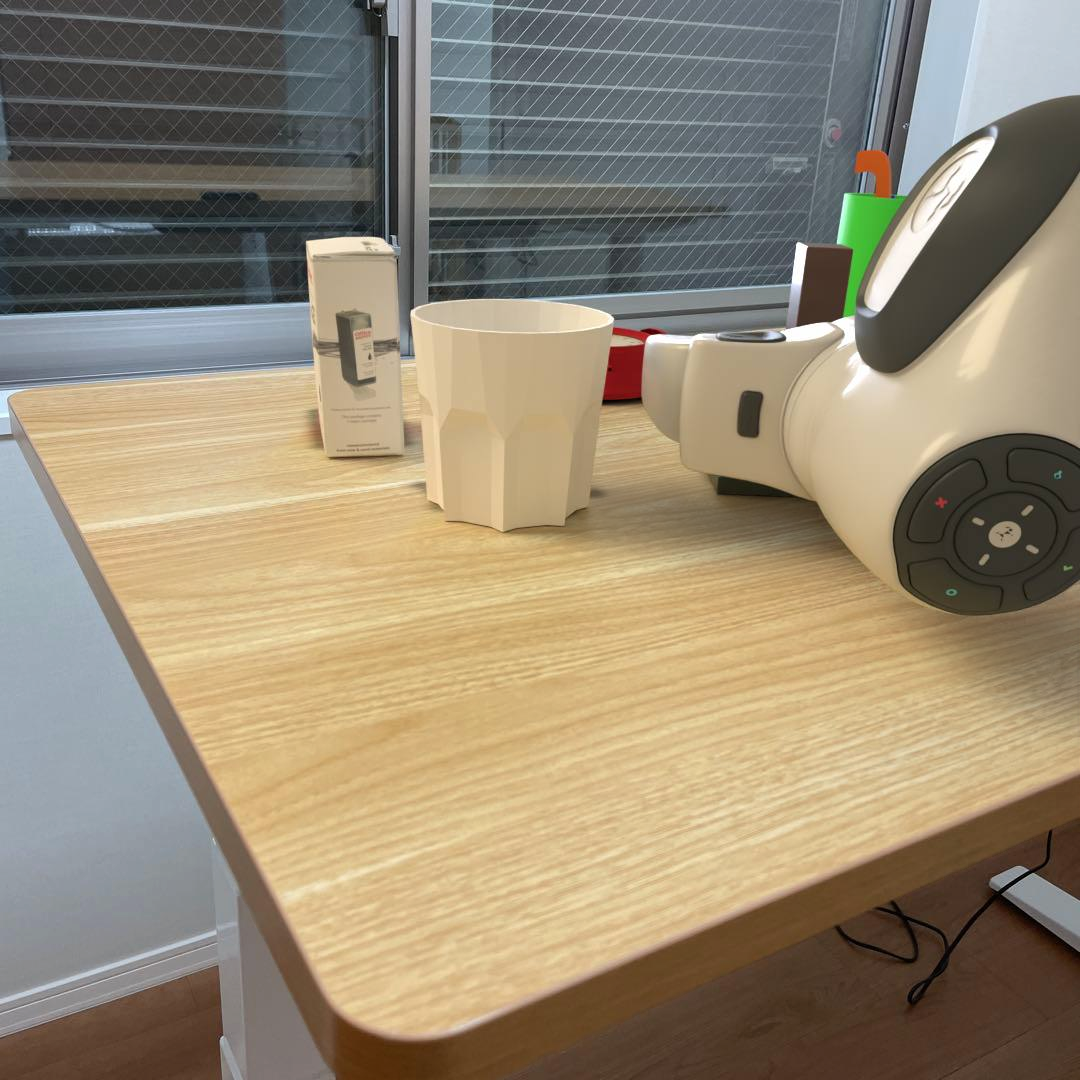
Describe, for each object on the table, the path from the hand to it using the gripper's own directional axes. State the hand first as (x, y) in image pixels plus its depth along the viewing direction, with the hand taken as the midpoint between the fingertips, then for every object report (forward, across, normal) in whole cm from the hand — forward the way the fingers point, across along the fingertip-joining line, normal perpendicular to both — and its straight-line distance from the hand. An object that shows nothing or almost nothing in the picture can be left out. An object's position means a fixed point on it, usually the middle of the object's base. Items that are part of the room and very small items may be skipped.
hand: (804, 355), depth 61 cm
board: (-1, -1, +7) cm, 7 cm away
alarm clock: (+19, +11, +7) cm, 23 cm away
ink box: (+1, +27, +7) cm, 28 cm away
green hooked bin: (+38, -15, +7) cm, 42 cm away
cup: (-10, +17, +7) cm, 21 cm away
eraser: (-1, 0, +6) cm, 6 cm away
